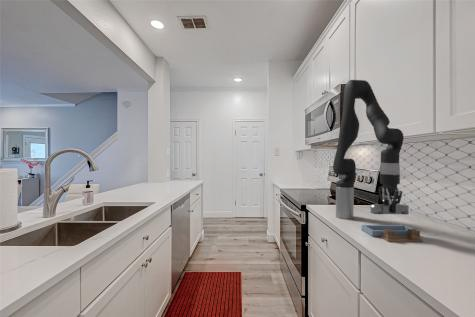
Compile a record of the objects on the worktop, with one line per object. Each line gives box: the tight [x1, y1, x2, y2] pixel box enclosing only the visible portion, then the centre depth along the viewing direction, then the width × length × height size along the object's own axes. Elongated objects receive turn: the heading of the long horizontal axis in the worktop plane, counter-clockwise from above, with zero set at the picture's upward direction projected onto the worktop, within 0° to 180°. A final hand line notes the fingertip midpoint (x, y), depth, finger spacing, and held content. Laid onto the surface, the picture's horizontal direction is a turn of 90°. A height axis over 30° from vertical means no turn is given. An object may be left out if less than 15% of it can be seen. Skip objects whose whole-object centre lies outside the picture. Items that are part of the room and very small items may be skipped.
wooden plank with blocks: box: [380, 228, 424, 243], centre depth 100 cm, size 5×14×4 cm, turn 90°
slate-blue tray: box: [361, 224, 414, 238], centre depth 108 cm, size 9×20×2 cm, turn 90°
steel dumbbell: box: [370, 203, 410, 215], centre depth 108 cm, size 5×16×4 cm, turn 90°
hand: (389, 211), depth 108 cm, fingers closed on steel dumbbell, 4 cm apart
